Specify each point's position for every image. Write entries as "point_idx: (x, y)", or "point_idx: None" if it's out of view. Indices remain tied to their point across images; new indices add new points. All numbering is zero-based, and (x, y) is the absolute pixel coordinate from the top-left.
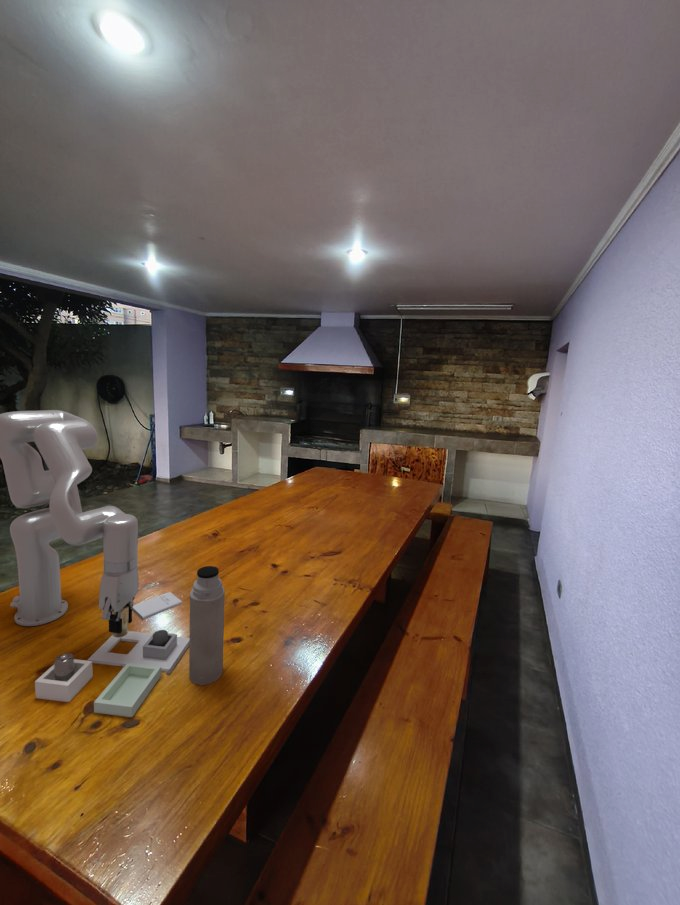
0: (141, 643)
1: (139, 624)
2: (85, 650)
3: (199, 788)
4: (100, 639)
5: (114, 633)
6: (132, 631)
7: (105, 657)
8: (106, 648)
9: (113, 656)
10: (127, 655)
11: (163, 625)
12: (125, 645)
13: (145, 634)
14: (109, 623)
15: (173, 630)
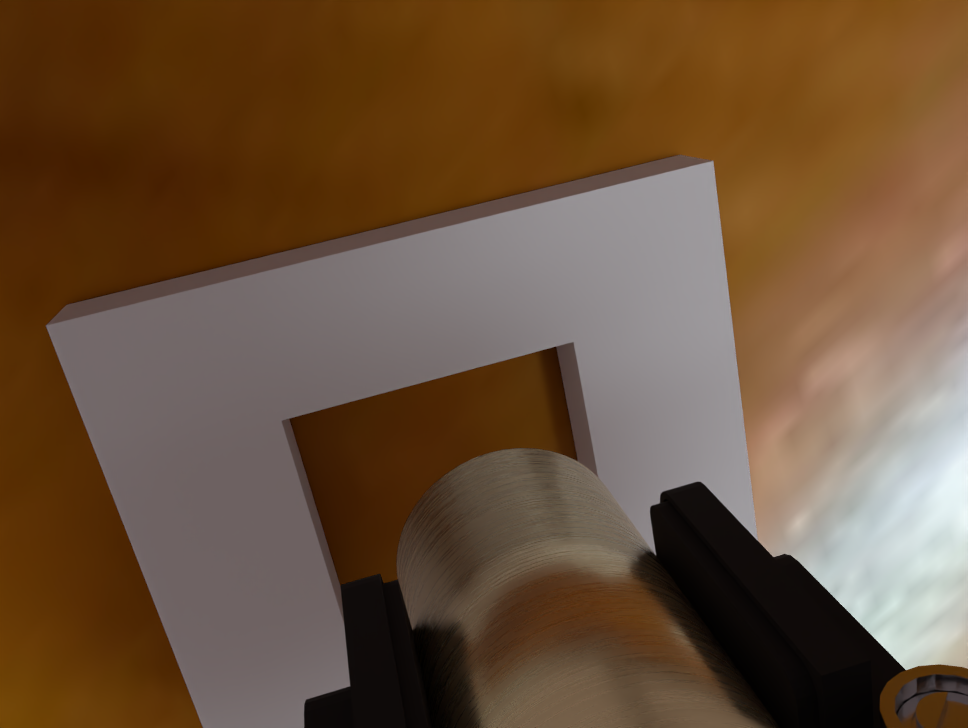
0: None
1: (919, 244)
2: (258, 14)
3: None
4: (521, 12)
5: (406, 590)
6: (736, 375)
7: (196, 497)
8: (335, 361)
9: (259, 561)
10: (347, 681)
11: (958, 505)
12: (539, 413)
13: None
14: (358, 721)
15: (904, 653)
